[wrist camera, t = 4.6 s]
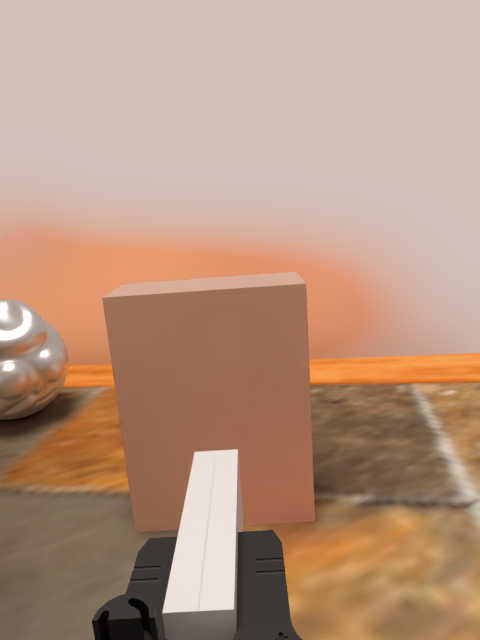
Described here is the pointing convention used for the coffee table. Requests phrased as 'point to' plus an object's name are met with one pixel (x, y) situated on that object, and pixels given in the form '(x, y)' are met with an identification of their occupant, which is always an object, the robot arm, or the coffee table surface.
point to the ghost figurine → (28, 361)
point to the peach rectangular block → (214, 391)
